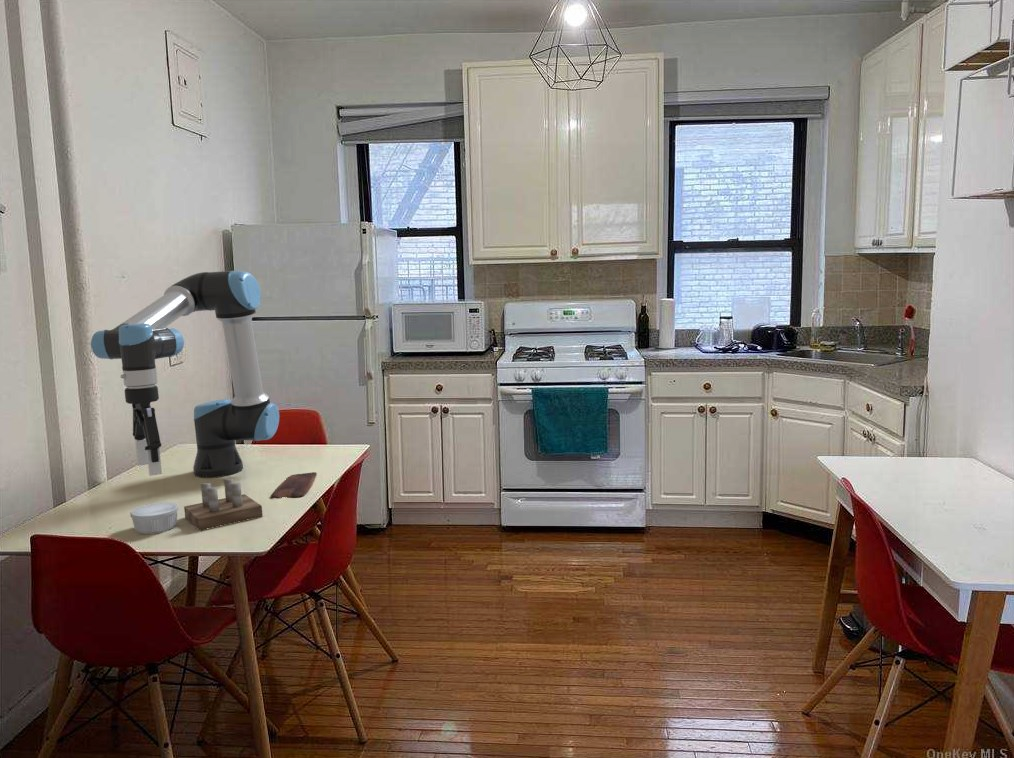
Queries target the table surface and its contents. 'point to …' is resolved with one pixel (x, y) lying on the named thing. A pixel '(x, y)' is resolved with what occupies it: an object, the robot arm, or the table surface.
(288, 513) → the table surface
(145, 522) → the ramekin
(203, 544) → the table surface
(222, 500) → the peg stand
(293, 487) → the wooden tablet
